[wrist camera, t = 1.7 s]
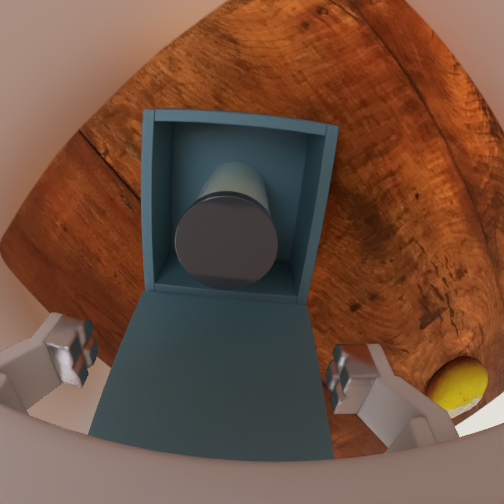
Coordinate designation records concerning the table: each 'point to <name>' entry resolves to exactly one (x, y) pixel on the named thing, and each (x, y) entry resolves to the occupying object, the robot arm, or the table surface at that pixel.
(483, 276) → the table surface
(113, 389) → the lid
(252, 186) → the jar
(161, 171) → the chest
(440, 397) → the fruit
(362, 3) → the table surface
